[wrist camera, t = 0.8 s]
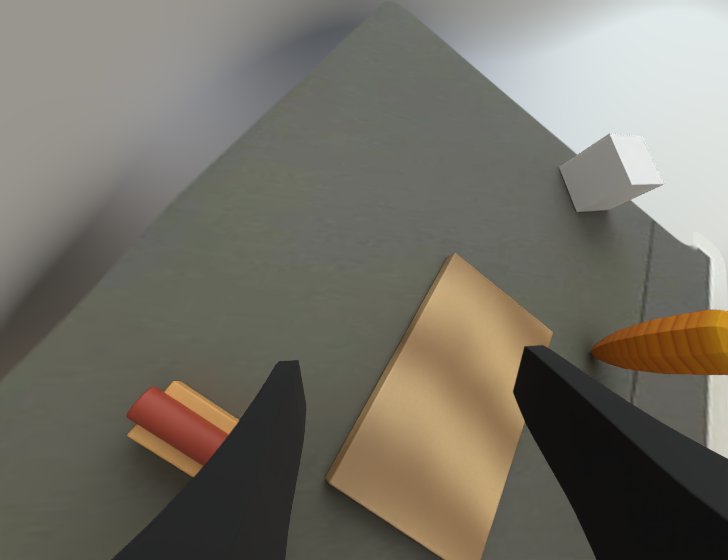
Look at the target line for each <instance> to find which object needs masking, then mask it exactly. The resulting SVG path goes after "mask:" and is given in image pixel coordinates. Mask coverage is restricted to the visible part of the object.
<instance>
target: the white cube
mask: <svg viewBox="0 0 728 560" xmlns="http://www.w3.org/2000/svg"><path fill="white" fill-rule="evenodd" d="M559 168H560V171H561V173H562V176H563V178H564V181H565V184H566V186H567V189H568V191H569V194H570V196H571V199H572V201H573V204H574V206H575V209H576V211H577V212H586V211H601V210H609V209H612V208H614V207H616V206H618V205H620V204H622V203H625V202H627V201H629V200H631V199H633V198H635V197H637V196H639V195H642V194H644V193H646V192H648V191H650V190H653V189H655V188H657V187H659V186H661V185H663V184H664V182H663V180H662V178H661V176H660V173H659V171H658V169H657V167H656V165H655V163H654V161H653V158H652V156H651V154H650V152H649V150H648V147H647V145H646V143H645V141H644V139H643V137H642V136H632V135H621V134H608V135H607V136H605V137H604V138H602V139H601V140H599V141H597V142H596V143H595V144H593V145H591V146H590V147H588V148H587V149H586V150H584V151H582V152H581V153H579V154H578V155H576V156H575V157H573V158H572V159H570V160H569V161H567V162H566V163H564V164H563V165H561V166H560V167H559Z"/></svg>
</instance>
